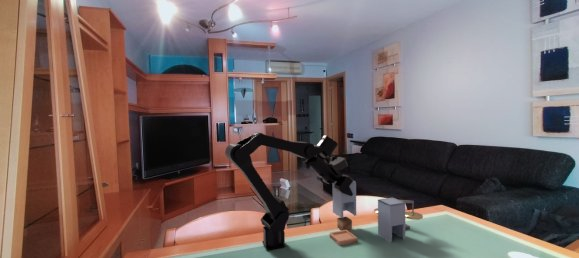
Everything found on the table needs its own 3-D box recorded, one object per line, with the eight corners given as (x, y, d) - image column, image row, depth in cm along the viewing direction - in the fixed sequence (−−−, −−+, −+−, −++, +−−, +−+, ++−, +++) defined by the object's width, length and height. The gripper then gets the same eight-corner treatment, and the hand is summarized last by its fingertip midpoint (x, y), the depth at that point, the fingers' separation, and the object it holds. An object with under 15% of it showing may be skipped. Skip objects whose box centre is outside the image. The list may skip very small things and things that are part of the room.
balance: (412, 240, 95) (412, 204, 94) (370, 216, 117) (370, 187, 117) (426, 237, 97) (427, 202, 96) (383, 214, 120) (383, 186, 119)
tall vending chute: (341, 217, 102) (341, 183, 101) (332, 212, 108) (332, 179, 108) (356, 215, 104) (356, 181, 104) (347, 209, 110) (346, 178, 110)
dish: (339, 245, 92) (339, 241, 92) (329, 236, 99) (329, 232, 99) (357, 242, 95) (357, 237, 95) (346, 233, 101) (346, 229, 101)
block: (342, 232, 103) (342, 221, 103) (337, 228, 107) (337, 218, 107) (352, 230, 104) (351, 220, 104) (346, 226, 108) (346, 216, 108)
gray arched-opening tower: (389, 242, 94) (389, 205, 93) (378, 234, 100) (377, 199, 99) (405, 239, 96) (405, 202, 95) (392, 231, 102) (392, 197, 101)
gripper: (348, 154, 95) (374, 182, 99) (323, 148, 112) (346, 172, 117) (328, 178, 93) (356, 206, 97) (305, 168, 110) (330, 192, 114)
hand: (347, 192), depth 106 cm, fingers closed on tall vending chute, 6 cm apart
